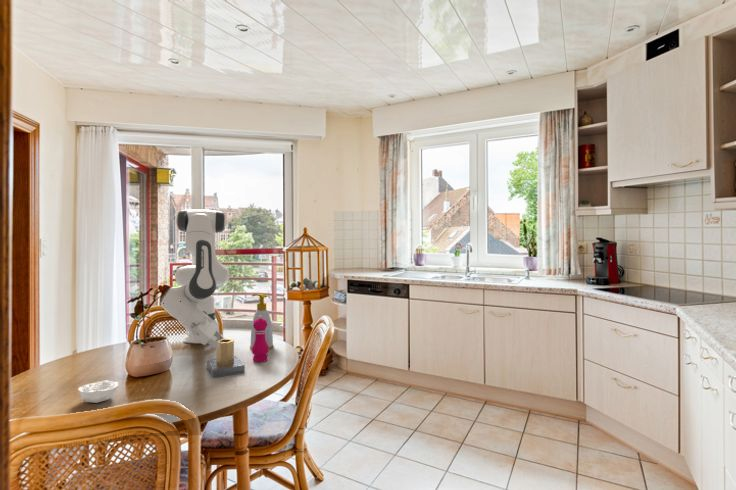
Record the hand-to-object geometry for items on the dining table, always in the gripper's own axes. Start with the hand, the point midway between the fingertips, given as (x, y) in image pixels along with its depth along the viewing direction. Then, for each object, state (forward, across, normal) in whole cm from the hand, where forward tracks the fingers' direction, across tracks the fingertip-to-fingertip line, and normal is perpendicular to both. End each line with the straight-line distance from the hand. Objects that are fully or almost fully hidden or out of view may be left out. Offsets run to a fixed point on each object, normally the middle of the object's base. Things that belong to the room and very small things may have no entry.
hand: (220, 343), depth 165 cm
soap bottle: (+18, +29, -2) cm, 34 cm away
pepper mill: (+19, +10, -3) cm, 21 cm away
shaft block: (+9, 0, +6) cm, 11 cm away
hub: (+7, 0, +4) cm, 8 cm away
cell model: (-17, -24, +33) cm, 44 cm away
